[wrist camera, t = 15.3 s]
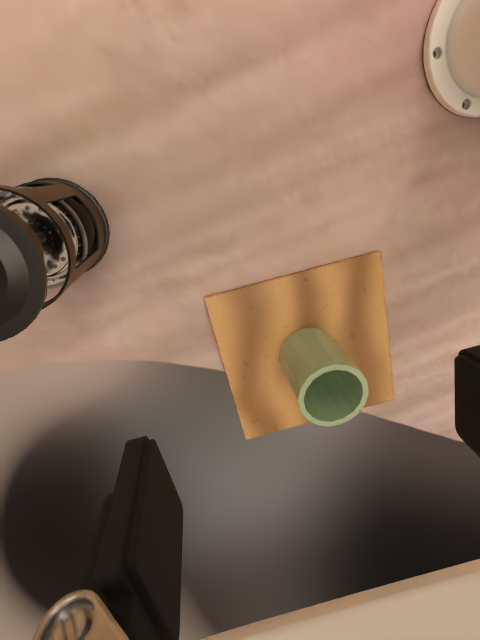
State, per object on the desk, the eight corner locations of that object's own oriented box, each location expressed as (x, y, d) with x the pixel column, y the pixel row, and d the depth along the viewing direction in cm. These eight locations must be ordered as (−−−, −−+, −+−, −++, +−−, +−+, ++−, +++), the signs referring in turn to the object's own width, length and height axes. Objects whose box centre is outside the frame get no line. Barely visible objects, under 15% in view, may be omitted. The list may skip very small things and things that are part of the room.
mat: (378, 250, 41) (381, 251, 41) (392, 396, 49) (394, 399, 49) (203, 297, 41) (204, 298, 41) (245, 437, 49) (246, 440, 48)
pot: (331, 320, 43) (364, 356, 35) (339, 371, 46) (371, 415, 38) (273, 336, 43) (292, 376, 35) (284, 386, 46) (304, 434, 38)
